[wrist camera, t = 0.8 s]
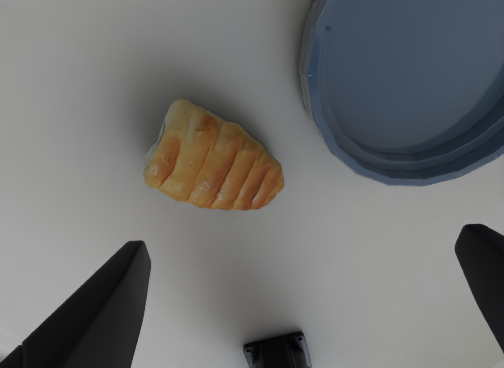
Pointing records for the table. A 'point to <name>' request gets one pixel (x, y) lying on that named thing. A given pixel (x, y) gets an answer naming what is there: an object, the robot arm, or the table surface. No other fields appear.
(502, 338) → the robot arm
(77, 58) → the table surface
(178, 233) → the table surface
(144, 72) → the table surface
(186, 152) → the pastry
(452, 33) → the glazed bowl
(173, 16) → the table surface
